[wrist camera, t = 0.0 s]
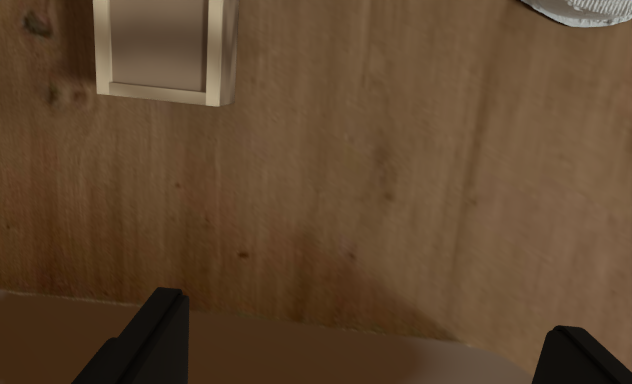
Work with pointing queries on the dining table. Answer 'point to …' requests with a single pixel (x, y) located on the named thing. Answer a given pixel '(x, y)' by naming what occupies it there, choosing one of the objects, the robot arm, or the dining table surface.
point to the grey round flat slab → (585, 11)
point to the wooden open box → (167, 49)
